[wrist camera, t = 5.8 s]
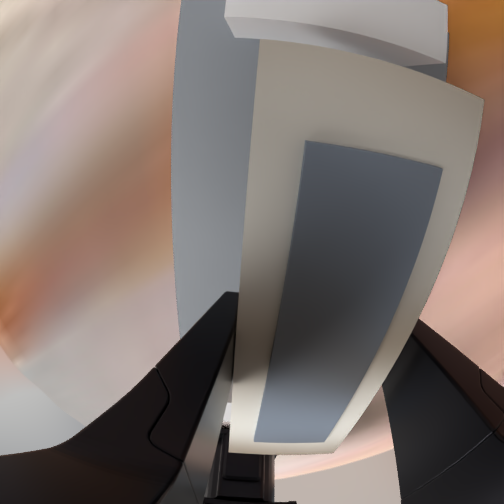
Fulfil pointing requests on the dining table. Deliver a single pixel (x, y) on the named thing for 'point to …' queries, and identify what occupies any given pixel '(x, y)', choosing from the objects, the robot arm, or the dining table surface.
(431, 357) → the robot arm
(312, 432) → the frame
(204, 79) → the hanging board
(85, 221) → the dining table surface
